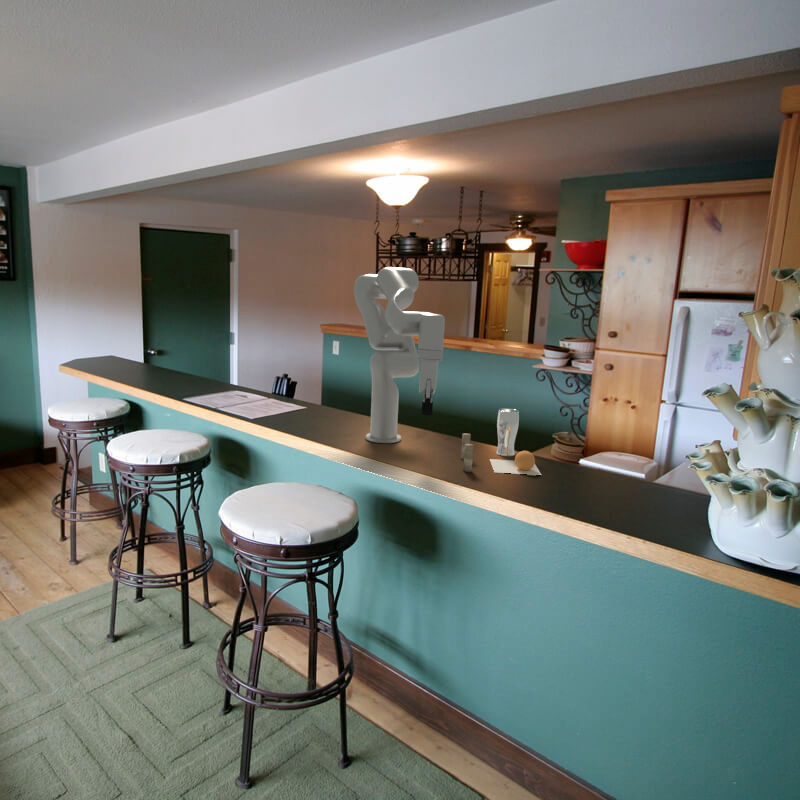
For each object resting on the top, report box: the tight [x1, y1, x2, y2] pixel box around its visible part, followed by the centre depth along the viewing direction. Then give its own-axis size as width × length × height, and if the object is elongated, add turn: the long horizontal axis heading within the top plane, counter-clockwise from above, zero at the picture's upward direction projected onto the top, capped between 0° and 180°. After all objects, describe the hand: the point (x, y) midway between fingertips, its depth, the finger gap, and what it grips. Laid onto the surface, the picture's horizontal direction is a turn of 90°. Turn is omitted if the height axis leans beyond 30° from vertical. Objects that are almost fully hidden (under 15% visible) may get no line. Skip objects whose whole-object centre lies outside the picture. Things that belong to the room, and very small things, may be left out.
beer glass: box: [495, 407, 520, 457], centre depth 189 cm, size 7×7×15 cm
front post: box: [462, 443, 474, 473], centre depth 169 cm, size 3×3×8 cm
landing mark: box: [489, 458, 542, 477], centre depth 176 cm, size 14×14×1 cm
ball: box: [514, 450, 536, 471], centre depth 173 cm, size 6×6×6 cm
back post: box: [460, 433, 472, 460], centre depth 182 cm, size 3×3×8 cm
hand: (426, 414), depth 174 cm, fingers closed
